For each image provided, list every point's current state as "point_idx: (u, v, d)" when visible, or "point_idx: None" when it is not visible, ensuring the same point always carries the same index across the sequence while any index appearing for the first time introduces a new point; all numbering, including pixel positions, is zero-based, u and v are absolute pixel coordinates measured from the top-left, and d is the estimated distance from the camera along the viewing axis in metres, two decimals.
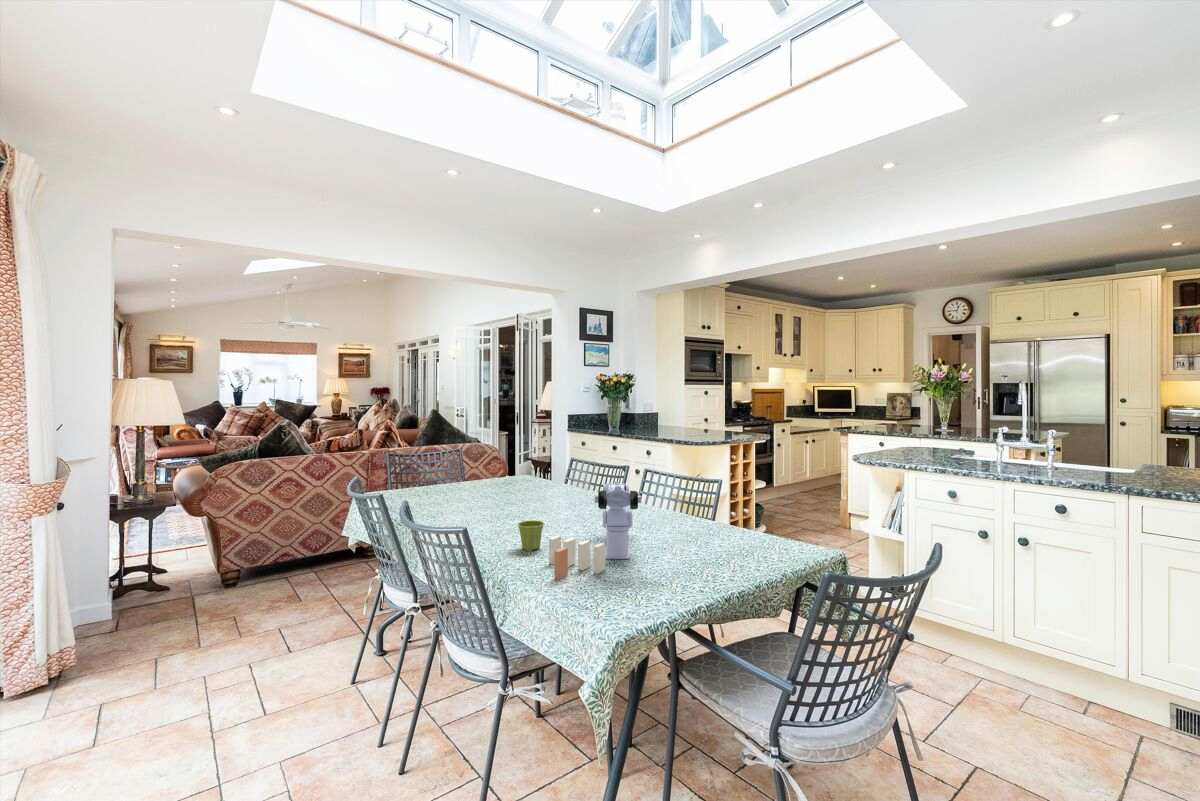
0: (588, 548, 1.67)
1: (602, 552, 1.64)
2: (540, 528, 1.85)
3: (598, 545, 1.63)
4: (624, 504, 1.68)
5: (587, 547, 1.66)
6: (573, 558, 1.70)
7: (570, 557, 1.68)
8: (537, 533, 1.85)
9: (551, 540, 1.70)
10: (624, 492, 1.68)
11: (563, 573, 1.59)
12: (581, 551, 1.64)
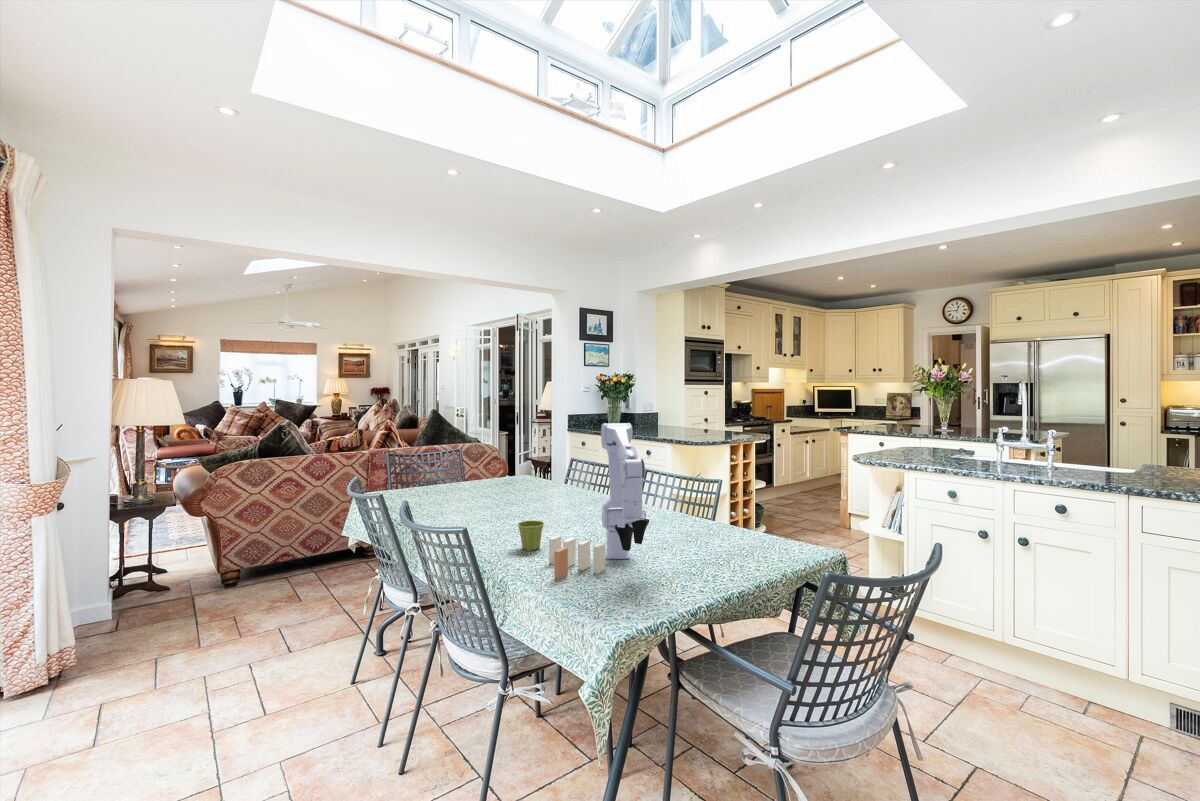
0: (588, 548, 1.67)
1: (602, 552, 1.64)
2: (540, 528, 1.85)
3: (598, 545, 1.63)
4: None
5: (587, 547, 1.66)
6: (573, 558, 1.70)
7: (570, 557, 1.68)
8: (537, 533, 1.85)
9: (551, 540, 1.70)
10: None
11: (563, 573, 1.59)
12: (581, 551, 1.64)
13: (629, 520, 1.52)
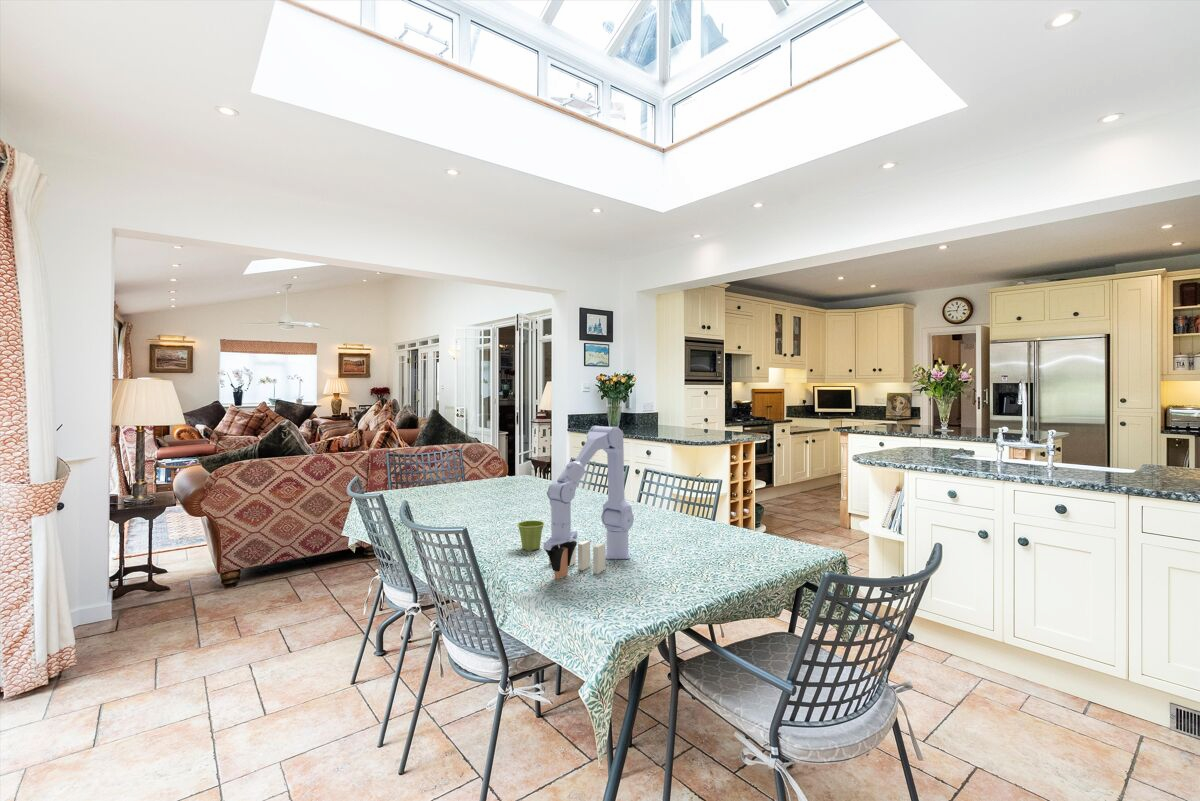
0: (588, 548, 1.67)
1: (602, 552, 1.64)
2: (540, 528, 1.85)
3: (598, 545, 1.63)
4: None
5: (586, 547, 1.66)
6: (573, 558, 1.70)
7: None
8: (537, 533, 1.85)
9: None
10: None
11: (563, 573, 1.59)
12: (581, 551, 1.64)
13: (555, 543, 1.54)
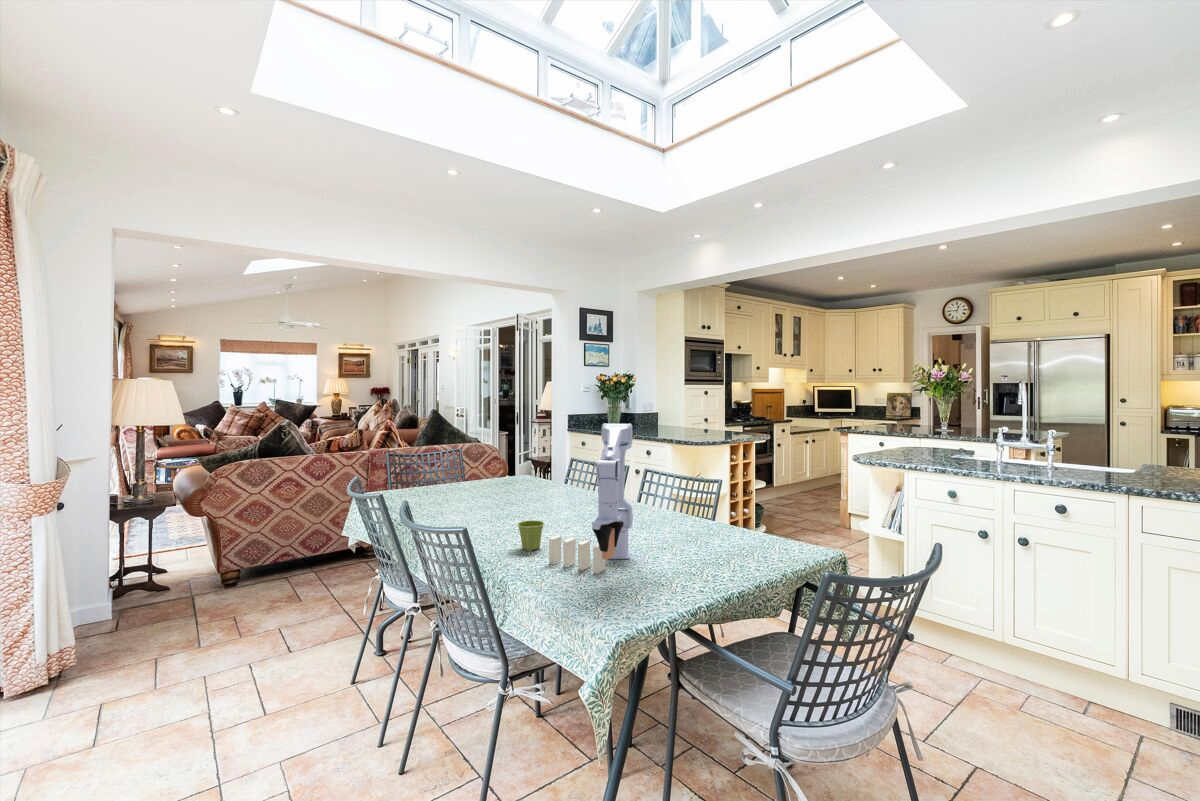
0: (588, 548, 1.67)
1: None
2: (540, 528, 1.85)
3: (598, 545, 1.63)
4: None
5: (586, 547, 1.66)
6: (573, 558, 1.70)
7: (570, 557, 1.68)
8: (537, 533, 1.85)
9: (551, 540, 1.70)
10: None
11: (611, 554, 1.55)
12: (581, 551, 1.64)
13: (604, 522, 1.50)
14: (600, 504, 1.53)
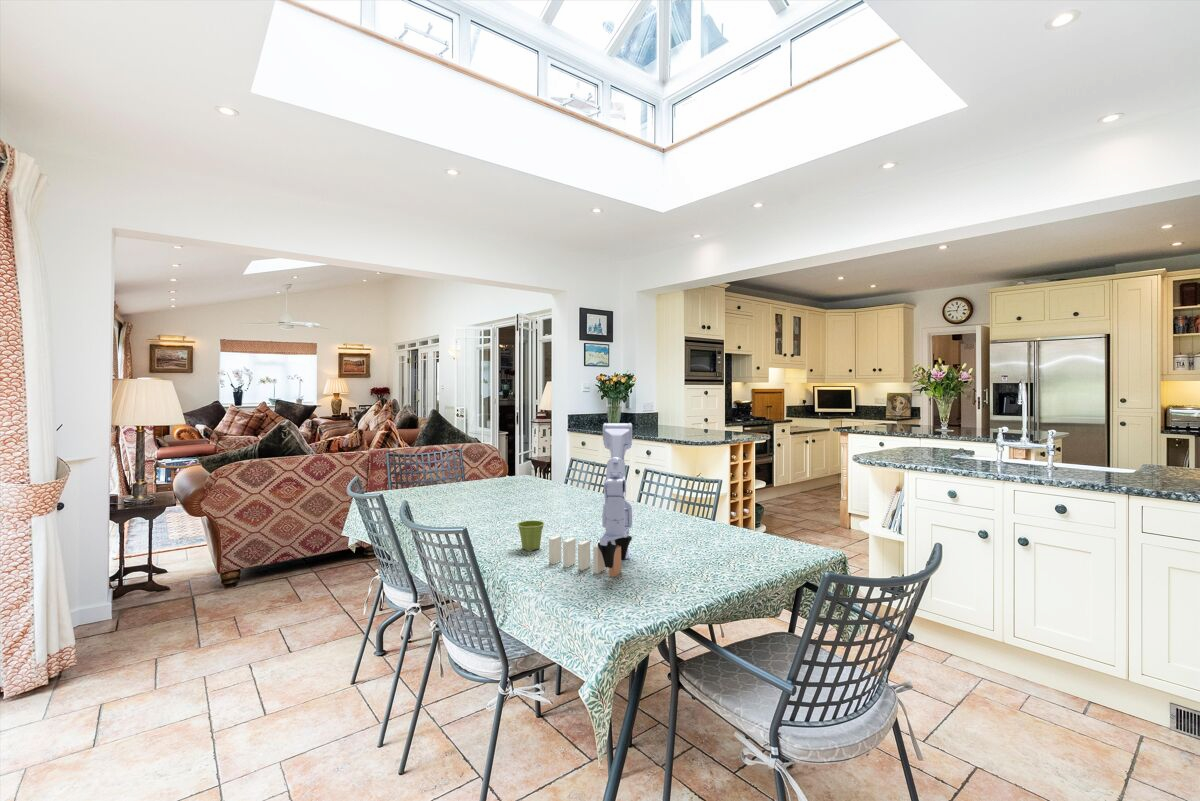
0: (588, 548, 1.67)
1: None
2: (540, 528, 1.85)
3: None
4: None
5: (586, 547, 1.66)
6: (573, 558, 1.70)
7: (570, 557, 1.68)
8: (537, 533, 1.85)
9: (551, 540, 1.70)
10: None
11: (618, 571, 1.61)
12: (581, 551, 1.64)
13: (611, 538, 1.56)
14: (607, 521, 1.59)
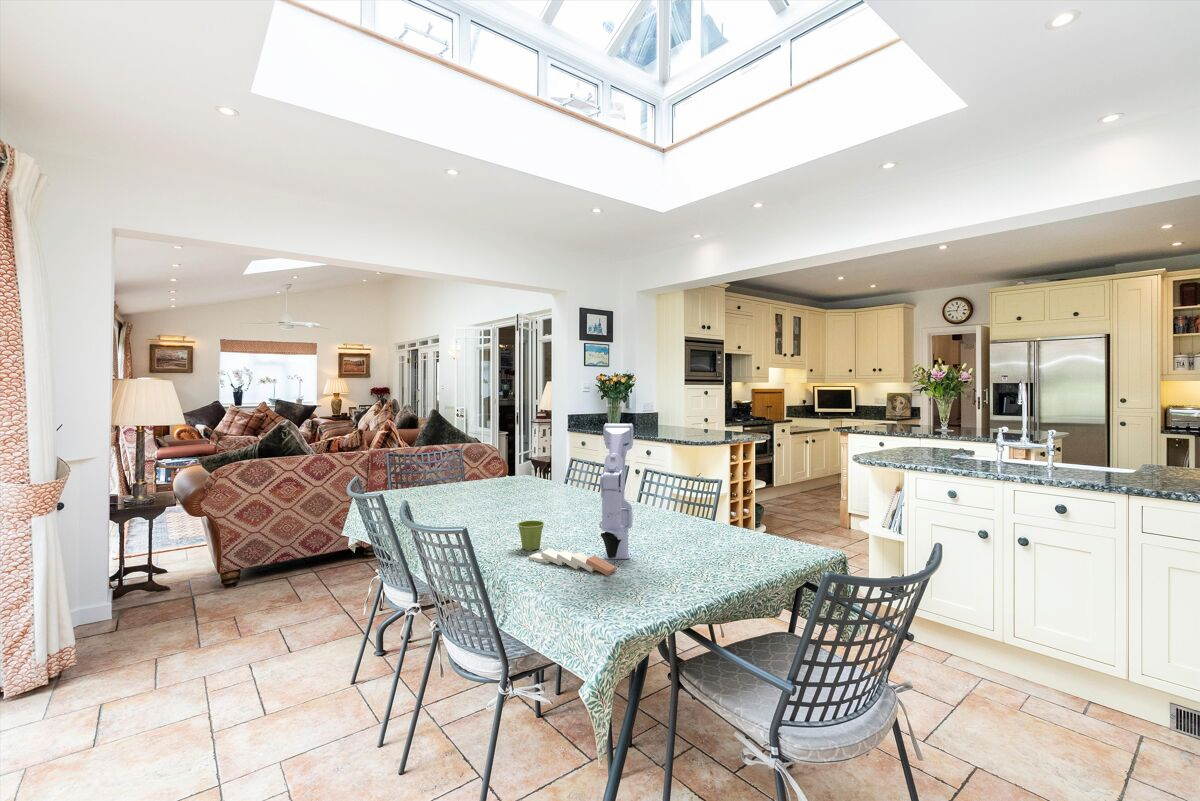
0: (568, 553, 1.71)
1: (582, 556, 1.68)
2: (540, 528, 1.85)
3: None
4: None
5: (566, 553, 1.71)
6: None
7: None
8: (537, 533, 1.85)
9: (529, 558, 1.75)
10: None
11: (610, 567, 1.62)
12: (562, 557, 1.68)
13: (622, 531, 1.57)
14: (612, 515, 1.58)
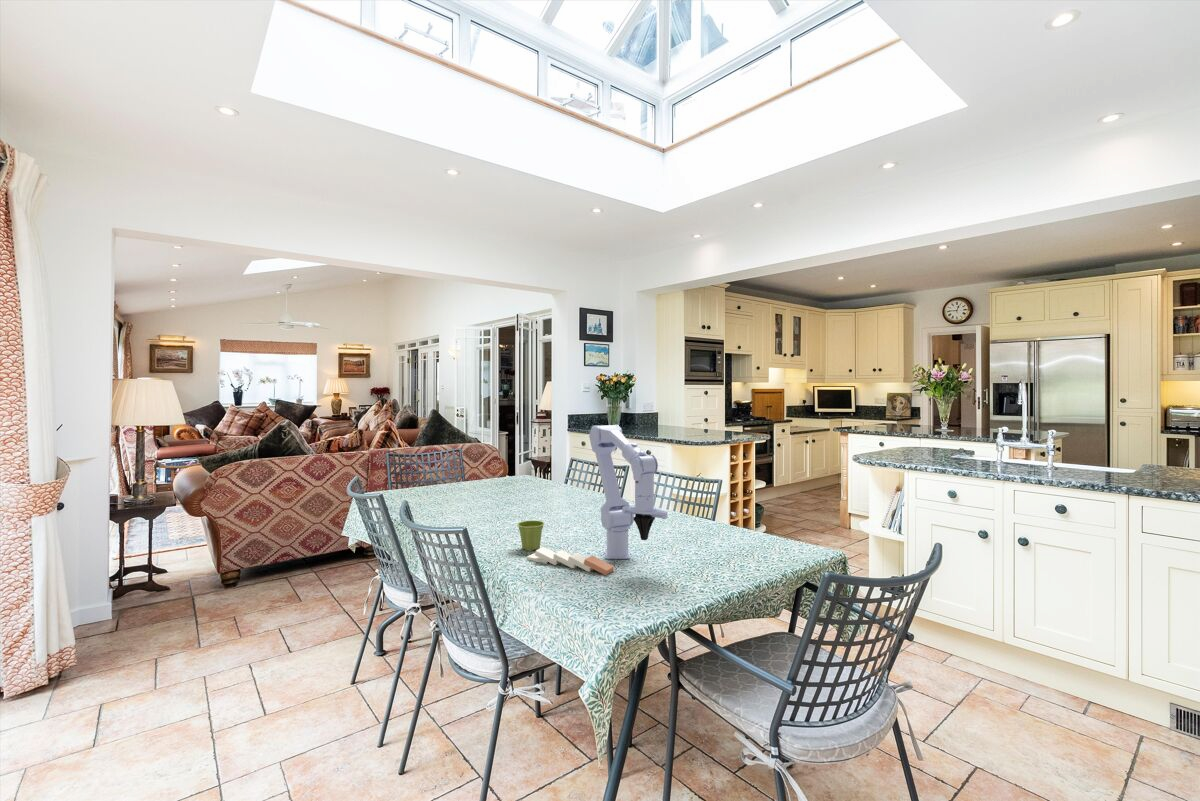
0: (565, 553, 1.72)
1: (579, 556, 1.68)
2: (540, 528, 1.85)
3: None
4: None
5: (562, 553, 1.71)
6: None
7: (551, 555, 1.71)
8: (537, 533, 1.85)
9: (527, 558, 1.75)
10: None
11: (608, 566, 1.62)
12: (559, 557, 1.68)
13: None
14: (650, 497, 1.62)
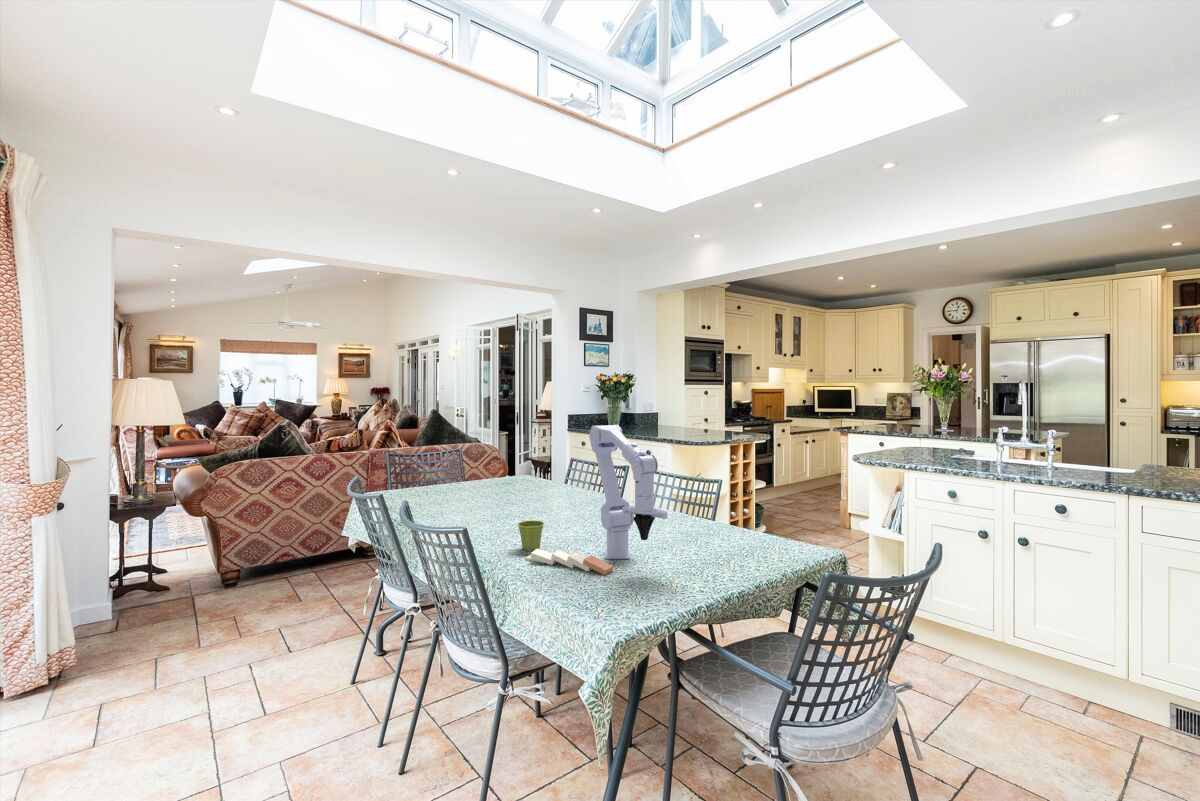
0: (563, 553, 1.72)
1: (578, 556, 1.68)
2: (540, 528, 1.85)
3: None
4: None
5: (560, 553, 1.71)
6: (551, 555, 1.72)
7: (547, 556, 1.71)
8: (537, 533, 1.85)
9: None
10: None
11: (607, 566, 1.62)
12: (557, 557, 1.69)
13: None
14: (650, 497, 1.62)
